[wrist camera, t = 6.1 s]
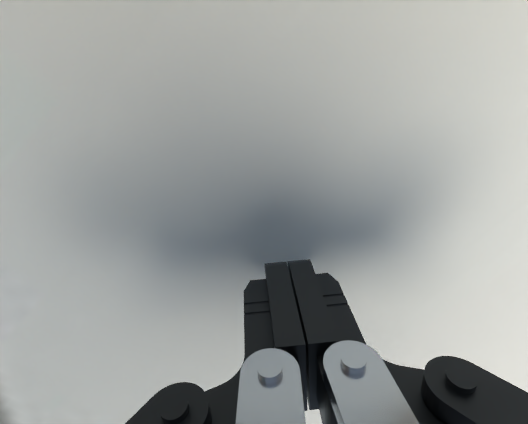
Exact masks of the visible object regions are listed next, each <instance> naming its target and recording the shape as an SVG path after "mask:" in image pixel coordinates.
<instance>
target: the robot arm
mask: <svg viewBox="0 0 528 424" xmlns="http://www.w3.org/2000/svg"><path fill="white" fill-rule="evenodd" d="M265 274H266V279H261V280H250V282H249V283H248V285H247V287H246V289H245V290H244V333H245V358H244V362H243V364H242V367H241V368H240V370H239V371H238V372H237V374H236V375H235V376H234V377H233V378H231V379H230V380H229V381H227V382H226V383H223V384H221V385H219V386H217V387H215V388H212V389H210V390H207V391H205V392H204V391H203V389H202V388H200V387H199V386H197V385H195V384H193V383H187V382H181V383H175V384H172V385H169V386H167V387H165V388H163V389H162V390H160V391H159V392H158V393H156V394H155V395H154V396H153V397H152V398H151V399H150V400H149V401H148V402H147V403H146V404H145V405H144V406H143V407H142V408H141V409H140V410H139V411H138V412H137V413H136V414H135V415H134V416H133V417H131V418H130V419H129V420H128V421H127V422H126V423H125V424H306V422H305V413H304V411H306V410H307V399H308V404H309V409H310V410H314V409H319V410H320V414H321V419H322V423H323V424H528V393H527V392H526V391H524V390H522V389H520V388H518V387H516V386H514V385H512V384H510V383H509V382H507V381H505V380H503V379H501V378H499V377H497V376H495V375H494V374H492V373H490V372H488V371H486V370H484V369H482V368H480V367H478V366H477V365H475V364H473V363H471V362H469V361H466V360H464V359H461V358H457V357H452V356H441V357H436V358H434V359H432V360H430V361H429V362H428V363H427V365H426V366H425V370H422V369H416V368H410V367H405V366H399V365H395V364H392V363H389V362H387V361H385V360H383V359H382V358H381V356H380V355H379V354H378V353H377V352H376V351H375V350H374V349H373V348H371V347H370V346H368V345H366V343H365V341H364V339H363V336H362V334H361V332H360V330H359V327H358V325H357V323H356V321H355V318H354V316H353V314H352V312H351V309H350V307H349V305H348V303H347V301H346V298H345V296H344V295H343V292H342V289H341V287H340V285H339V283H338V281H336V280H335V279H334V278H333V277H332V276H331V275H329V274H328V273H322V274H315V272H314V269H313V266H312V263H311V261H310V259H308V260H298V261H288V266H287V262H277V263H267V264H265Z"/></svg>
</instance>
